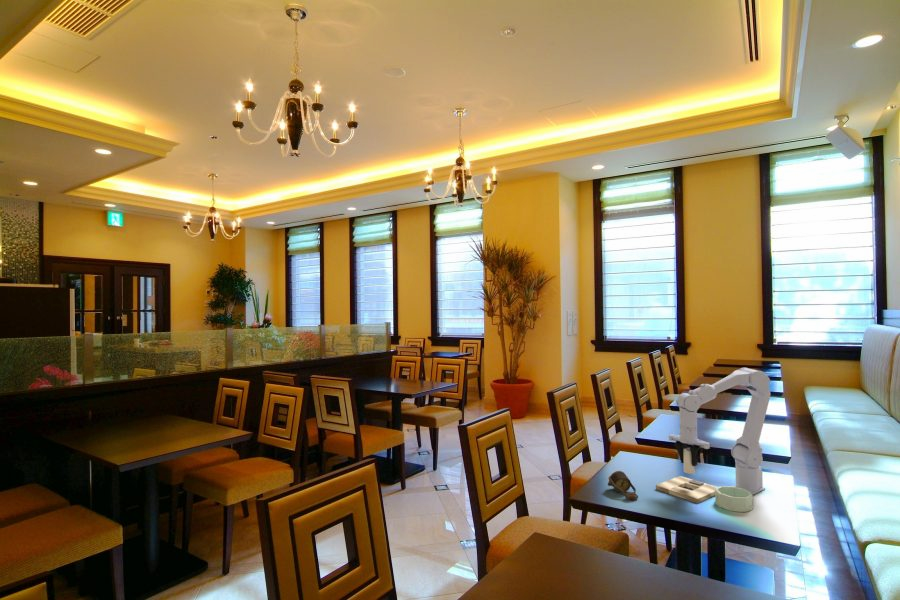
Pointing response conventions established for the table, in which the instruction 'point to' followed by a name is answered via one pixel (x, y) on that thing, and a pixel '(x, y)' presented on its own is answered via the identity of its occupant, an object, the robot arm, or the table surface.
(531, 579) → the table surface
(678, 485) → the plate
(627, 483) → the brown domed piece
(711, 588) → the table surface
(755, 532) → the table surface
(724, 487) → the pale green bowl
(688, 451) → the cell
